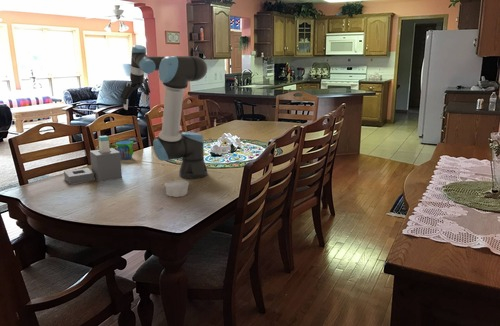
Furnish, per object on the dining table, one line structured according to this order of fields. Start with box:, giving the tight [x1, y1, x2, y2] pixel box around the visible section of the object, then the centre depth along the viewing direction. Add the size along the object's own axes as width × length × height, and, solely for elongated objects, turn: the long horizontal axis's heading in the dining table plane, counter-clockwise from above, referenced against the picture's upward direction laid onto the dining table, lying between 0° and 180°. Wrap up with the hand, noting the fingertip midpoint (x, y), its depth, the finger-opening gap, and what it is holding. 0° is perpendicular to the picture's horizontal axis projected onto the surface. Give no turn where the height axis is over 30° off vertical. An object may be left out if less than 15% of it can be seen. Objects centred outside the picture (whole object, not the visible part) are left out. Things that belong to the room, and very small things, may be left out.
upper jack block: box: [89, 148, 123, 183], centre depth 213 cm, size 12×12×14 cm
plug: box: [98, 135, 110, 153], centre depth 211 cm, size 4×4×11 cm
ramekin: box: [164, 179, 190, 198], centre depth 190 cm, size 11×11×5 cm
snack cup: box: [114, 140, 135, 160], centre depth 253 cm, size 16×10×10 cm
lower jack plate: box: [63, 167, 96, 185], centre depth 210 cm, size 12×12×4 cm
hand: (134, 106), depth 241 cm, fingers open, 13 cm apart
